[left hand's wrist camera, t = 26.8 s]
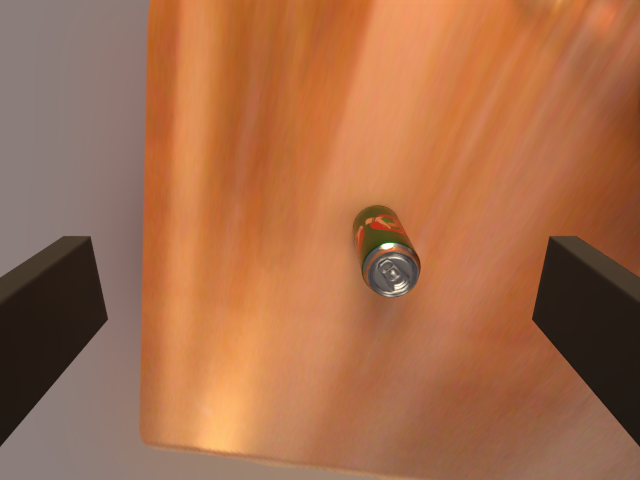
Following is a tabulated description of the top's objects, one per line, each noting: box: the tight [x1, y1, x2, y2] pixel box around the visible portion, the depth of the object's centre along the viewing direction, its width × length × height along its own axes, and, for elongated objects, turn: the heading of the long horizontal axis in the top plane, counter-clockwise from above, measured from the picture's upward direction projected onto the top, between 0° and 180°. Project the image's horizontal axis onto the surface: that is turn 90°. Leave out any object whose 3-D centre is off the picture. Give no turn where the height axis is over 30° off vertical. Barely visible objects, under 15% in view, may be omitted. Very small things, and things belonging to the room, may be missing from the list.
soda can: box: [353, 206, 421, 297], centre depth 41 cm, size 5×5×12 cm
